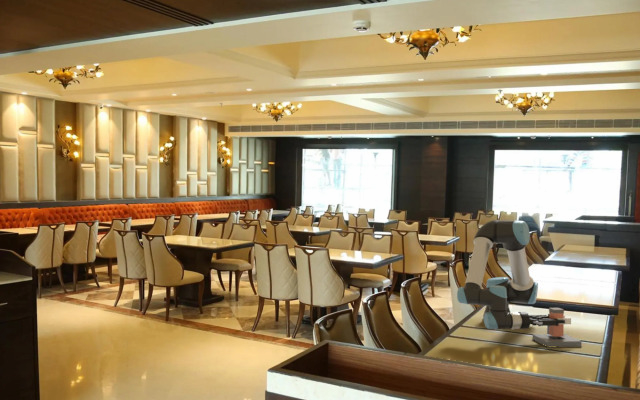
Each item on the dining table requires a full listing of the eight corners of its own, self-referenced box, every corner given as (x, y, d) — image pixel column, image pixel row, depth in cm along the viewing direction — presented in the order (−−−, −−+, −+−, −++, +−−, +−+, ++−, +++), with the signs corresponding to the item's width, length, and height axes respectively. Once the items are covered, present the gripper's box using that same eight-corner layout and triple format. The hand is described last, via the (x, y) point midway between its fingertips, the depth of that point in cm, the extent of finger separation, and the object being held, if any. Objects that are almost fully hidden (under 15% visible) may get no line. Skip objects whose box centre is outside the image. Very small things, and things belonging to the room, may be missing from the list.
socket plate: (532, 339, 262) (532, 334, 262) (565, 339, 263) (565, 333, 263) (547, 347, 248) (547, 341, 248) (581, 346, 249) (581, 341, 249)
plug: (548, 334, 257) (548, 307, 258) (558, 334, 258) (558, 307, 258) (553, 336, 253) (554, 309, 253) (563, 336, 253) (563, 309, 253)
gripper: (510, 324, 263) (557, 323, 265) (527, 333, 245) (578, 332, 247) (510, 308, 263) (557, 308, 265) (527, 316, 245) (578, 315, 247)
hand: (567, 319), depth 256 cm, fingers closed on plug, 4 cm apart
